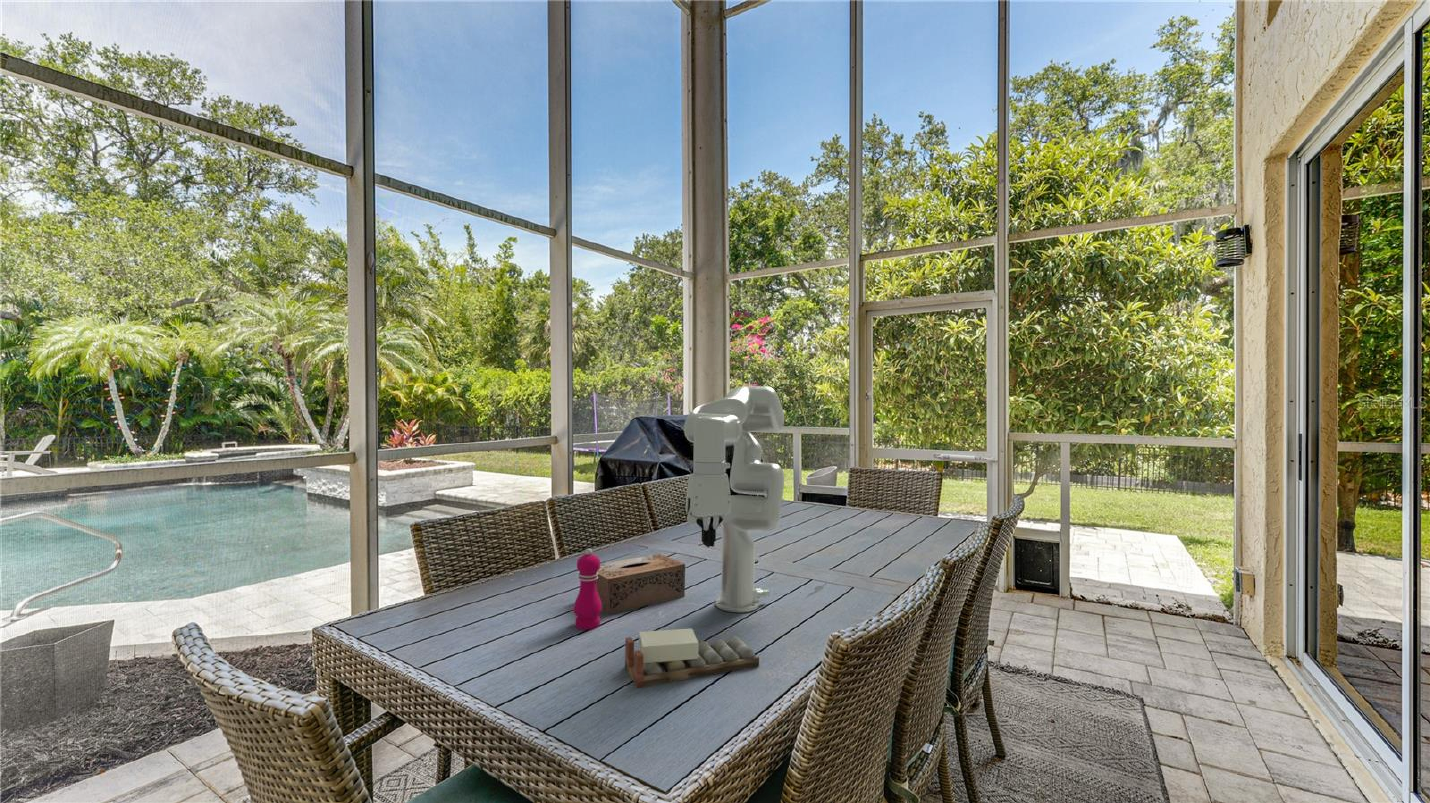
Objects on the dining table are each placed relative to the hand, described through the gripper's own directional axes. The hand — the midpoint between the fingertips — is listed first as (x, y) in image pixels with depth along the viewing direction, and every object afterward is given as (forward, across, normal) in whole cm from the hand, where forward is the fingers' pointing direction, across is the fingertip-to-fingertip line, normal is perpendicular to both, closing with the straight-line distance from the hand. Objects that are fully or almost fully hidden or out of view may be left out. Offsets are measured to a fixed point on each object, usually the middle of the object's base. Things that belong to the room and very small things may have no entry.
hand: (708, 545), depth 142 cm
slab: (+21, +12, +7) cm, 25 cm away
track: (+24, +7, +8) cm, 27 cm away
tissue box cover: (+26, +7, -40) cm, 48 cm away
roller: (+23, +12, +8) cm, 27 cm away
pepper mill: (+25, +24, -24) cm, 42 cm away
